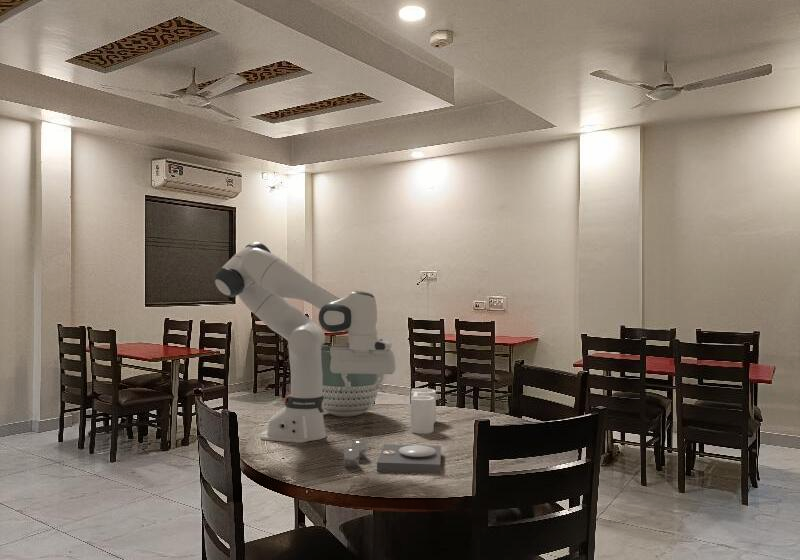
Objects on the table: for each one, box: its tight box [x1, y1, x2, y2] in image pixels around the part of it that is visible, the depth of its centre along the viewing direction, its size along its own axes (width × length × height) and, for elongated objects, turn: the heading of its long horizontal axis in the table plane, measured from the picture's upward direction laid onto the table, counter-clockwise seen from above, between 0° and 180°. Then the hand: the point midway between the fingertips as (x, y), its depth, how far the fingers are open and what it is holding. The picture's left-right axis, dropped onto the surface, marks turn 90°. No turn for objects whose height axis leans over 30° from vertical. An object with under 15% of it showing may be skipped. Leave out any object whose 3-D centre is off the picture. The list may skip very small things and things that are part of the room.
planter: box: [321, 345, 380, 418], centre depth 254 cm, size 27×27×27 cm
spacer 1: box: [343, 446, 360, 470], centre depth 183 cm, size 4×4×5 cm
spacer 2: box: [351, 439, 367, 461], centre depth 192 cm, size 4×4×5 cm
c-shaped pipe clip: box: [409, 387, 437, 434], centre depth 237 cm, size 25×10×12 cm, turn 176°
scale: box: [376, 443, 442, 474], centre depth 188 cm, size 18×20×4 cm
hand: (362, 388), depth 193 cm, fingers open, 8 cm apart
